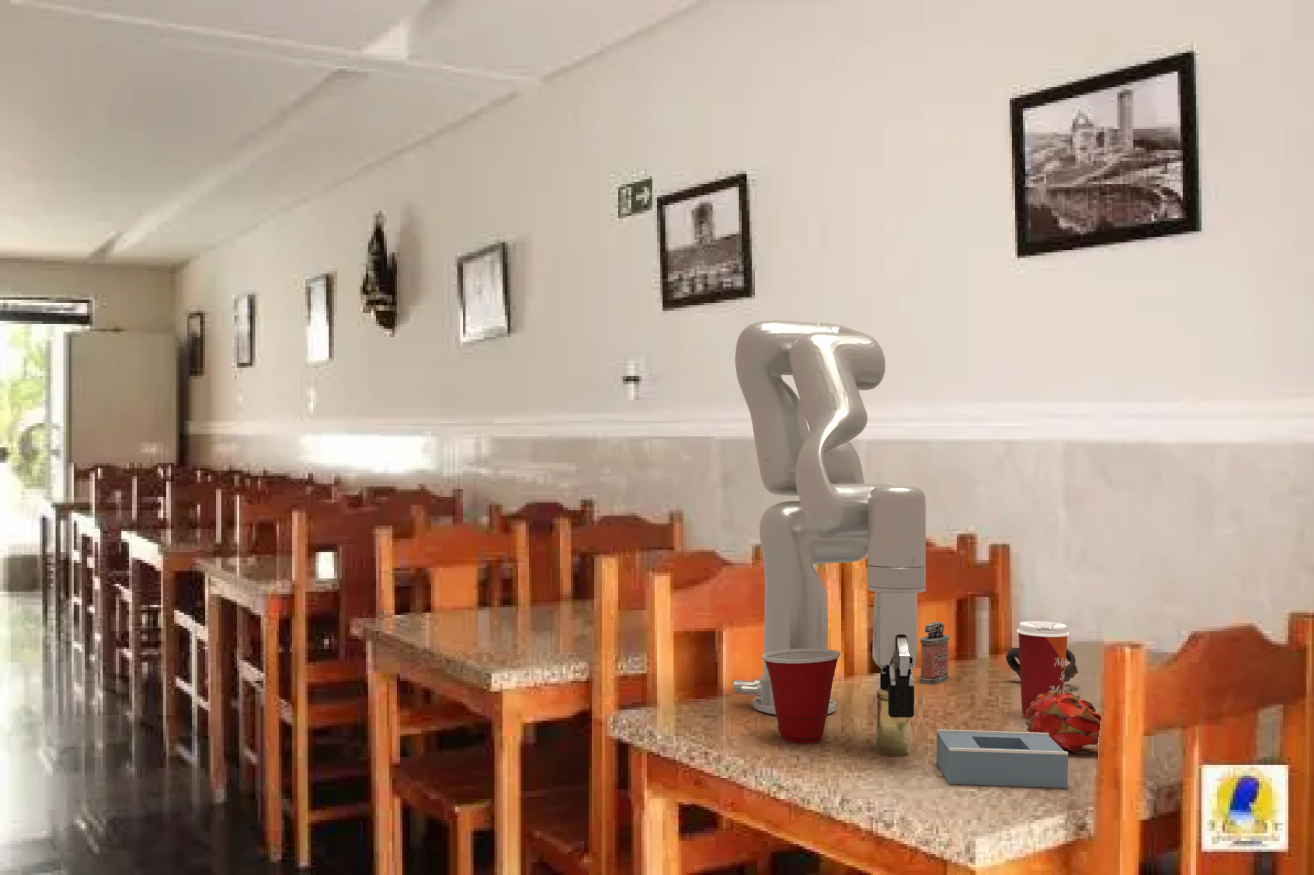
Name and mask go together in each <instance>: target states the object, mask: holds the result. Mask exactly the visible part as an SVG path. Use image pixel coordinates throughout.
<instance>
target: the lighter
mask: <svg viewBox="0 0 1314 875" xmlns="http://www.w3.org/2000/svg"><path fill="white" fill-rule="evenodd" d="M944 631H945V623H943V622H938V621H931V622H930V623H929V624H926V625H925V626H924V633H927V634H928V635H925V636H922V637H921V638H920V640H919V642H920V644H921V646H920V647H921V648H920V649H921V652H920V656H921V658H920V659H921V661H920V676H919V684H921V685H937V684H940V683H945V682H946V681H948V680H949V679H950V678H949V677H950V676H949V675H950V674H949V671H948V669H949V668H948V666H949V665H948V663H949V662H948V659H949V641H950V635H949V634H945V633H944Z"/></svg>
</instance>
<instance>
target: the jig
mask: <svg viewBox="0 0 1314 875" xmlns="http://www.w3.org/2000/svg"><path fill="white" fill-rule="evenodd" d="M935 763H936V764H937V766H938V768H939V770H940V771H941V773H942V775H943V776H944V779H945V780H946V782H947V783H948V784H949V785H968V786H971V785H972V786H995V787H996V786H997V787H999V786H1001V787H1021V788H1022V787H1023V788H1025V787H1026V788H1048V789H1049V788H1051V789H1068V784H1069V783H1068V781H1069V780H1068V777H1069V767H1068V766H1069V752H1068V751H1065V749H1064V748H1061V747H1060V746H1059V745H1058V744H1057V743H1056V742H1055V741H1054V740H1053V739H1052V738H1050V737H1049V733H1033V732H1029V731H998V730H997V731H996V730H995V731H994V730H974V729H973V730H971V729H969V730H968V729H967V730H965V729H942V728H941V729H936V762H935Z"/></svg>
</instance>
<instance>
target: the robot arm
mask: <svg viewBox="0 0 1314 875" xmlns="http://www.w3.org/2000/svg"><path fill="white" fill-rule="evenodd" d="M737 338H738V339H737V342H736V345H735V346H736V347H735V352H734V353H735V356H734V364H735V365H734V366H735V373H736V378H737V381H738V384H739V388H740V389H741V393H742V395H743V398H744V400H745V404H746V406H747V408H748V411H749V413H750V418H751V423H752V430H753V439H754V442H755V451H756V457H757V462H758V468H759V469H758V470H759V475H760V479H761V482H762V485H763V486H764V488H765V489H766V490H767V491H768V492H769V493H770V494H773V495H779V496H789V497H791V496H792V497H793V496H794V497H798V499H799V500H789V501H788V500H787V501H783V502H781V501H780V502H778V503H775V504H773V505H772V506H769V507H768V508H767V509H766V510H765V511H764V512H763V514H762V516H761V519H760V522H759V540H760V541H759V542H760V545H761V546H760V547H761V553H762V560H763V569H764V572H763V573H764V626H763V627H764V630H763V635H764V636H763V654H766V653H769V652H774V651H781V650H792V649H828V648H827V647H828V645H827V643H828V642H827V640H828V592H827V589H826V586H825V584H824V582H823V580H822V578H821V577H820V575H819V574H818V572H817V570H816V569H815V566H814V565H819V564H837V563H838V564H840V563H853V562H857V561H860V560H863V559H864V558H865V557H866V556H867V591H870V592H874V593H875V594H874V600H873V601H874V603H873V604H874V605H873V625H872V626H873V631H872V632H873V633H872V634H873V635H872V637H873V638H872V659H873V661H874V663H875V664H876V665H877V666H878V667H879V668H880V669H881V670H880V671H881V673H879V674H880V675H879V676H880V677H879V678H880V679H879V680H880V681H879V683H880V684H879V686H880V687H879V689H885V688H888V714H889V716H890V717H905V718H910V719H911V718H913V717H914V716H915V685H914V674H913V669H914V668H916V666H917V662H918V661H917V660H918V659H917V658H918V593H925V592H926V589H927V588H926V586H927V584H926V583H927V582H926V581H927V580H926V578H927V576H926V574H927V571H926V569H927V567H926V562H927V561H926V558H927V557H926V555H927V554H926V546H927V542H926V541H927V540H926V539H927V538H926V533H927V532H926V530H927V528H926V525H927V524H926V520H927V519H926V517H927V516H926V514H927V513H926V511H927V509H926V507H927V504H926V496H925V492H924V491H923V490H922V489H921V488H920V487H917V486H903V485H901V486H900V485H899V486H898V485H892V484H885V483H884V484H882V483H881V484H880V483H879V484H878V483H865V478H864V474H863V469H862V464H861V459H860V456H859V453H858V452H857V450H856V448H855V446H854V445H853V444H852V443H851V440H853V439H855V438H856V437H857V436H859V435H860V434H861V433H862V432H863V431H864V429H865V428H866V427H867V424H868V420H869V419H868V418H869V417H868V412H867V410H866V408H865V404H864V402H863V399H862V396H861V394H860V391H870V390H873V389H875V388H877V387H878V386H879V385H880V384H881V382H882V381H883V379H884V377H885V373H886V359H885V354H884V351H883V349H882V347H881V345H880V344H879V343H878V341H877V340H876V339H875V338H874V337H873V336H871V335H869V334H867V333H864V332H861V331H859V330H856V329H852V328H849V327H847V326H843V325H839V324H835V323H828V322H827V323H825V322H809V321H795V320H779V319H778V320H777V319H776V320H775V319H774V320H763V321H762V320H761V321H757V322H754V323H751V324H749V325H748V326H746V327H744V329H742V331H741V332H740V334H739V336H738V337H737ZM783 376H792V377H793V380H794V384H795V387H796V390H797V393H796V392H795V391H794V389H793V388H792V387H791V386H790V385H789V384H788V383H787V382H785V380H783ZM797 394H798V395H797ZM736 693H737V694H741V695H754V696H755V697H754V698H753V700H752V707H753V708H754V709H755V710H756V711H759V712H760V713H761V712H762V713H765V714H771V715H775V716H777V714H776V712H775V706H774V699H773V693H772V687H771V680H770V676H769V672H768V669H767V666H766V664H765V661H764V660H763V673H762V674H760V678H754V680H753V681H751V680H746V679H745V680H743V679H739V680H737V679H733V694H736ZM836 710H837V703H836V701H835V700H834V699H831V698H830V702H829V708H828V714H827V715H829V714H832V713H834V712H836Z"/></svg>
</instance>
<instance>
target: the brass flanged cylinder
mask: <svg viewBox="0 0 1314 875" xmlns="http://www.w3.org/2000/svg"><path fill="white" fill-rule="evenodd" d="M875 713H876V718H875V720H876V721H875V722H876V723H875V724H876V725H875V753H876V754H879V755H882V756H889V757H904V756H909V755H910V752H911V750H910V749H911V748H910V745H911V743H910V741H911V739H910V738H911V736H910V735H911V718H905V717H890V716H889V714H888V688H885V689H880V688H878V689H877V690H876V712H875Z"/></svg>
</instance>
